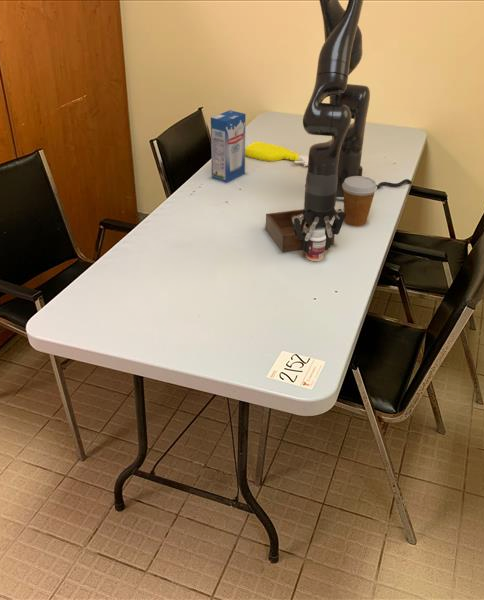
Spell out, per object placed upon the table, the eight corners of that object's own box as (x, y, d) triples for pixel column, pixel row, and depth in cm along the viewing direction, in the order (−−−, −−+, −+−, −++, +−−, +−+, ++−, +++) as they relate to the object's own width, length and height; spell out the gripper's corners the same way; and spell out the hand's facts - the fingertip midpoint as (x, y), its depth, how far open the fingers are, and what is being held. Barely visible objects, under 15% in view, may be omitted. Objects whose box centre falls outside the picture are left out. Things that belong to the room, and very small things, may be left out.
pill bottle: (304, 253, 156) (306, 224, 151) (322, 252, 156) (324, 223, 151) (307, 262, 152) (309, 232, 147) (325, 261, 152) (328, 232, 147)
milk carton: (226, 182, 194) (226, 121, 183) (211, 178, 197) (210, 117, 186) (244, 173, 201) (245, 113, 189) (230, 169, 204) (230, 110, 192)
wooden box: (314, 223, 170) (315, 207, 168) (333, 245, 159) (335, 228, 157) (265, 229, 167) (265, 213, 164) (282, 252, 156) (282, 236, 153)
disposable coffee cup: (351, 211, 177) (356, 172, 170) (378, 221, 171) (384, 182, 164) (331, 221, 171) (335, 181, 165) (358, 232, 166) (364, 191, 159)
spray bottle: (256, 147, 221) (317, 160, 212) (241, 156, 213) (304, 170, 204) (256, 140, 220) (318, 152, 210) (241, 148, 212) (305, 162, 202)
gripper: (298, 197, 139) (294, 261, 148) (355, 191, 142) (347, 253, 152) (287, 185, 145) (284, 247, 154) (341, 179, 148) (335, 240, 158)
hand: (315, 250), depth 153 cm, fingers closed on pill bottle, 4 cm apart
